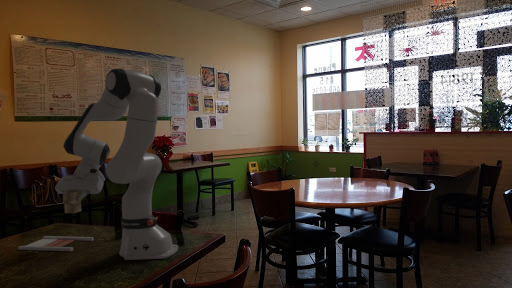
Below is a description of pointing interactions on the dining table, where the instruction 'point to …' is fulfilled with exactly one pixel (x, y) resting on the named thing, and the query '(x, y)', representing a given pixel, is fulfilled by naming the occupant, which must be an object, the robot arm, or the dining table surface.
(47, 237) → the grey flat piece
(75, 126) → the robot arm
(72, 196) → the maple block
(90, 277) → the dining table surface
